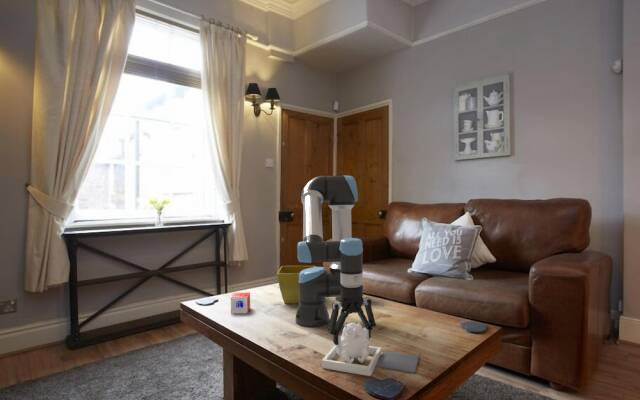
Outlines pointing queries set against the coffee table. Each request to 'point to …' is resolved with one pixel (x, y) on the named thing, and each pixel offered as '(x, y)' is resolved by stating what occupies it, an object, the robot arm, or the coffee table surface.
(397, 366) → the coaster pad
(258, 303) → the coffee table surface
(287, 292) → the flower pot
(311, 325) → the robot arm
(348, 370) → the bin frame
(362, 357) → the figurine
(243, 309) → the red and white cube
